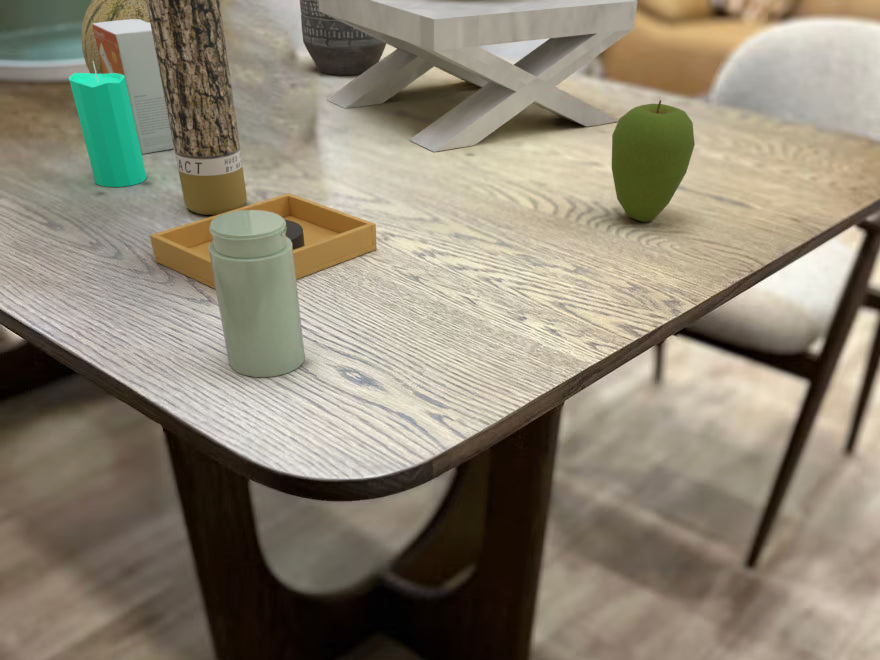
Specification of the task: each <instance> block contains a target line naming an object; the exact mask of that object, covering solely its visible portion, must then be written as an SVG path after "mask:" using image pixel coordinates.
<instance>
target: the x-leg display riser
mask: <svg viewBox="0 0 880 660" xmlns="http://www.w3.org/2000/svg"><path fill="white" fill-rule="evenodd" d="M318 1H319V11H320V12H322V13H324V14H326V15H328V16H330V17H332V18H334V19H336V20H338V21H340V22H343V23H345V24H347V25H349V26H351V27H353V28H355V29H357V30H359V31H361V32H363V33H365V34H368V35H370V36H372V37H374V38H376V39H378V40H380V41H382V42H384V43H386V45H388V46H390V47H393V48H395V49H394V50H393V51H392V52H391V53H389V54H388V55H386V56H385V57H384V58H381V59H380V60H379V62H378V63H376V64H375V65H374V66H372V67H371V68H369V69H368V70H367V71H365V72H364V73H362V74H360V75H358V76H357V77H355V78H354V79H352V80H351V81H350V82H348V83H346V84H345V85H344V86H342V87H341V88H340V89H338V90H337V91H335V92H334V93H332V95H330V96H328V97H327V98H326V100H327V101H329V102H331V103H333V104H335V105H337V106H339V107H341V108H342V109H351V108H358V107H366V106H373V105H381V104H384V103H385V102H386V101H388V100H389V99H391V98H392V97H394V96H395V95H396V94H398V93H399V92H400V91H402V90H403V89H405V88H406V87H408V86H409V85H411V84H412V83H414V82H415V81H416V80H418V78H421V76H423V75H425V74H426V73H427V72H429V71H430V70H432V69H433V68H437V69H438V70H441V71H443V72H445V73H446V74H449V75H451V76H453V77H455V78H457V79H460V80H461V81H463V82H465V83H469V84H471V85H474V86H476V87H479V89H478V90H476V91H475V92H474V93H472V94H470V95H469V96H468V97H466V98H465V99H464V100H462V101H461V102H460V103H458V104H457V105H455V106H454V107H452V108H451V109H450V110H448V111H447V112H446V113H444V114H443V115H442V116H440V117H439V118H437V119H436V120H435V121H433V122H432V123H430V124H429V125H428V126H426V127H425V128H423V129H422V130H421V131H419V132H418V133H416V134H414V136H413V137H411V138H410V139H409V141H411V142H413V143H415V144H417V145H419V146H421V147H423V148H424V149H427V150H429V151H431V152H433V153H436V152H441V151H447V150H453V149H454V150H455V149H460V148H466V147H473V146H475V145H477V144H478V143H480V142H481V141H482V140H484V139H485V138H486V137H488V136H490V135H491V134H492V133H493V132H495V131H496V130H498V129H499V128H500V127H501V126H503V125H505V124H506V123H507V122H508V121H510V120H512V119H513V118H514V117H515V116H517V115H518V114H519V113H521V112H522V111H523V110H525V109H526V108H528V107H529V106H531V105H532V104H533V105H535V106H537V107H539V108H541V109H544V110H545V111H548V112H550V113H551V114H554V115H556V116H558V117H560V118H562V119H565V120H568V121H570V122H573V123H576V124H579V125H580V126H584V127H593V126H594V127H595V126H600V125H605V124H611V123H618V121H619V119H618V118H617V117H614V116H612V115H610V114H609V113H607V112H605V111H603V110H601V109H599V108H598V107H595V106H593V105H591V104H589V103H588V102H586V101H583V100H582V99H580V98H578V97H577V96H574V95H572V94H570V93H568V92H566V91H565V90H562V89H561V88H559V87H557V86H558V85H560V84H561V83H562V82H563V81H565V80H566V79H567V78H569V77H570V76H572V75H573V74H575V73H576V72H577V71H579V70H580V69H581V68H583V67H584V66H585V65H587V64H588V63H590V62H591V61H593V60H594V59H595V58H596V57H599V56H600V54H602V53H604V52H605V51H606V50H608V49H609V48H611V47H612V46H613V45H614V44H616V43H617V42H619V41H621V39H623V38H624V37H626V36H627V35H628V34H629V33H631V32H632V31H634V30H635V24H636V23H635V22H636V17H637V16H636V15H637V9H638V0H318ZM538 40H545V41H544V42H543V43H541V44H540V45H539V46H537V47H536V48H535V49H533V50H532V51H530V52H529V53H528V54H526V55H525V56H523V57H522V58H521V59H519V60H518V61H516V62H515V63H511V62H509V61H507V60H505V59H503V58H502V57H499V56H497V55H495V54H494V53H491V52H490V51H488V50H486V49H484V48H482V47H483V46H493V45H501V44H503V45H504V44H510V43H520V42H528V41H529V42H531V41H538Z"/></svg>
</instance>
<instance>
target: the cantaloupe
mask: <svg viewBox="0 0 880 660" xmlns="http://www.w3.org/2000/svg"><path fill="white" fill-rule="evenodd" d="M87 7H88V8H87V9H86V11H85V13H84V17H83V21H82V25H81V40H80V41H81V42H80V43H81V51H82V55H83V58H84V62H85V65H86V67H87V70H88V73H94V74H95V70H94V66H93V62H92V61H94V64H95V69H96V73H97V74H103V70H102V65H101V61H100V57H99V52H98V48H97V43H96V39H95V35H94V31H93V27H92V24H93V23H100V22H108V21H117V20H129V19H140V20H143V21H145V22H148V23H150V19H149V13H148V8H147V3H146V0H91V1H90V3H89V4H88V6H87Z"/></svg>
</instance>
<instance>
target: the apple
mask: <svg viewBox="0 0 880 660" xmlns="http://www.w3.org/2000/svg"><path fill="white" fill-rule="evenodd" d="M618 120H619V121H618V122H617V123H616V126H615V128H614V130H613V132H612V135H611V143H612V144H611V172H612V178H613V183H614V189H615V195H616V200H617V201H618V203H619V204H620V206H621V208H622V209H623V211H624V212H625V215H626V216H627V217H628V218H630V219H633V220H636V221H639V222H643V223H648V222H652V221H654V220H655V219H656V218H657V217H658V216H659V215H660V214H661V212H662V211H664V209H666V207H667V206H668V205H669V204H670V202H671V200H672V199H673V197H674V196H675V193H676V192H677V190H678V188H679V186H680V184H681V183H682V181H683V180H684V178H685V176H686V174H687V171H688V169H689V165H690V162H691V158H692V155H693V152H694V149H695V145H696V143H695V133H694V123H693V122H694V121H692V119H691V118H690V117H689V115H688V114H687V113H686V111H685V110H683V109H681V108H678V107H675V106H672V105H668V104H664V103H662V100H661V99H659V102H658V103H647V104H642V105H638V106H635V107H633V108H632V109H630V110H629V111H627V112H626V113H625V114H623V115H622V116H621V117H619V119H618Z"/></svg>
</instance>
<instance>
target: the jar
mask: <svg viewBox="0 0 880 660" xmlns="http://www.w3.org/2000/svg"><path fill="white" fill-rule="evenodd" d="M286 230H287V227H286V222H285V220H284V218H282V217H281V216H280V215H278V214H276V213H272V212H268V211H261V210H242V211H234V212H229V213H226V214H223V215H220V216H218V217H216V218H214V219H213V220H212V221H211V224H210V228H209V231H210V234H212V238H213V241H212V242H211V243H210V245H209V254H210V259H211V265H212V271H213V276H214V282H215V287H216V289H215V292H216V299H217V303H218V310H219V314H220V319H221V320H220V321H221V326H222V331H223V338H224V343H225V349H226V354H227V355H226V356H227V361H228V365H229V367H230V368H231V369H232V371H234V372H236V373H238V374H240V375H243V376H247V377H252V378H273V377H278V376H283V375H286V374H288V373H291V372H293V371H295V370H297V369H299V368H300V367H301V366H302V365H303V363H304V362H305V358H306V355H305V346H304V338H303V329H302V319H301V311H300V301H299V293H298V283H297V279H296V273H295V264H294V255H293V246H292V242H291V240H290V239H289V238H288V237H286Z"/></svg>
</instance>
